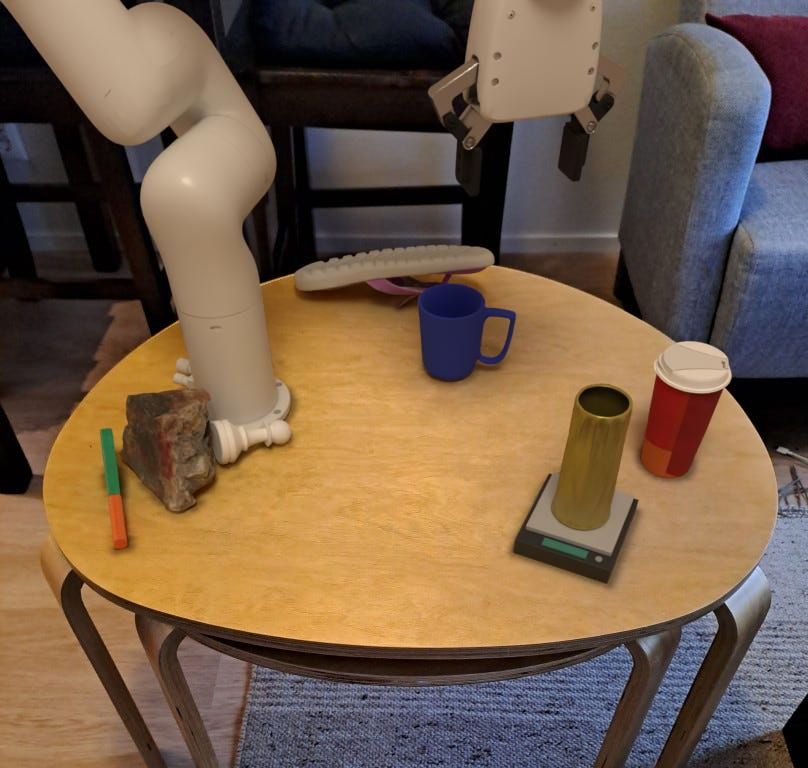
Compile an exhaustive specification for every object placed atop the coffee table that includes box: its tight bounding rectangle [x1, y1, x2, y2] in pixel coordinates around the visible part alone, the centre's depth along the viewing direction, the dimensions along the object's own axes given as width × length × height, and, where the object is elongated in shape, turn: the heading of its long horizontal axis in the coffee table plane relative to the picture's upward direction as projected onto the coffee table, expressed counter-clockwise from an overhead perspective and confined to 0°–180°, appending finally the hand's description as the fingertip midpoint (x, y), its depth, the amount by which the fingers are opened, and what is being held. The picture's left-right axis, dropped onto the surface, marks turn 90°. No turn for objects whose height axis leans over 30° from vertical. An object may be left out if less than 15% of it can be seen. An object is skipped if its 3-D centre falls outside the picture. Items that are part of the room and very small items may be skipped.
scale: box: [513, 471, 640, 584], centre depth 85 cm, size 10×11×3 cm
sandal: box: [293, 244, 495, 308], centre depth 115 cm, size 13×29×7 cm, turn 85°
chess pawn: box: [209, 419, 292, 465], centre depth 94 cm, size 5×5×9 cm
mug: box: [417, 282, 517, 382], centre depth 102 cm, size 8×12×10 cm
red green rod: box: [99, 427, 128, 550], centre depth 88 cm, size 15×6×2 cm
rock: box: [118, 388, 217, 512], centre depth 89 cm, size 12×12×10 cm
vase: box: [551, 383, 634, 530], centre depth 79 cm, size 6×6×14 cm
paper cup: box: [640, 340, 733, 479], centre depth 88 cm, size 8×8×14 cm
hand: (519, 182), depth 72 cm, fingers open, 9 cm apart
